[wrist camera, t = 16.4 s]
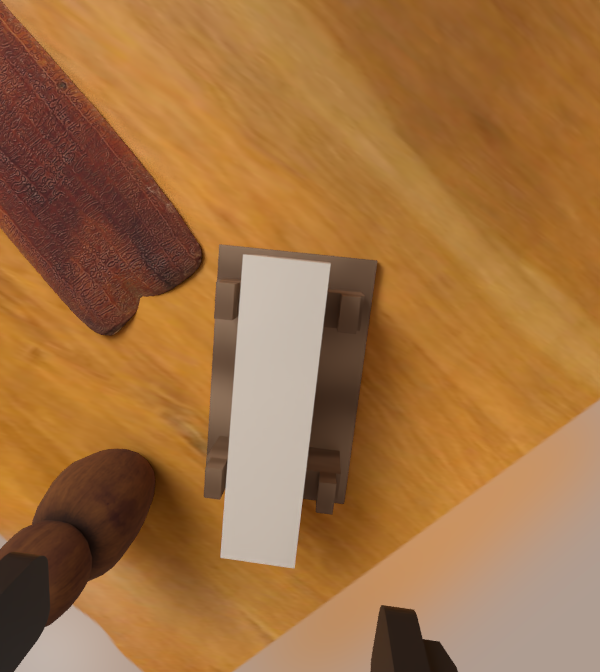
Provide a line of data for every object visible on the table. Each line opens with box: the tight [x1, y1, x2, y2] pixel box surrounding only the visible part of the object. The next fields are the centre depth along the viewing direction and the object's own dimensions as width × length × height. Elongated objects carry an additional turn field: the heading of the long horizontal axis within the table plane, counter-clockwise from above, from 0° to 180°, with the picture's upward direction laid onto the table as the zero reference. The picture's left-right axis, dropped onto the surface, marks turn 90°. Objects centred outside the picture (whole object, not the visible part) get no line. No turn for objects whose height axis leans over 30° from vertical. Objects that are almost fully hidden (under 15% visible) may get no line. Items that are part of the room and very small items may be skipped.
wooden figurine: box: [0, 449, 155, 627], centre depth 22 cm, size 7×6×15 cm
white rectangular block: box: [220, 254, 331, 568], centre depth 22 cm, size 16×4×4 cm, turn 174°
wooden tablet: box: [0, 1, 202, 336], centre depth 25 cm, size 27×10×2 cm, turn 38°
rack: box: [204, 245, 377, 514], centre depth 25 cm, size 17×10×5 cm, turn 174°
